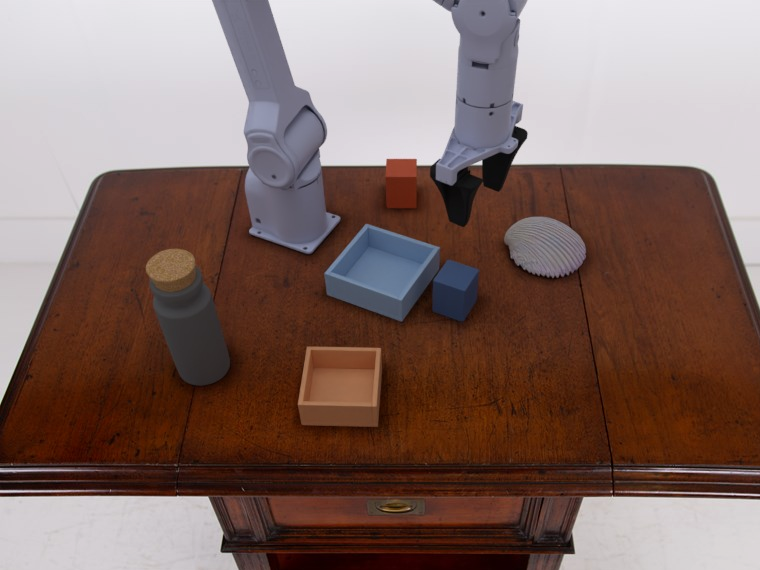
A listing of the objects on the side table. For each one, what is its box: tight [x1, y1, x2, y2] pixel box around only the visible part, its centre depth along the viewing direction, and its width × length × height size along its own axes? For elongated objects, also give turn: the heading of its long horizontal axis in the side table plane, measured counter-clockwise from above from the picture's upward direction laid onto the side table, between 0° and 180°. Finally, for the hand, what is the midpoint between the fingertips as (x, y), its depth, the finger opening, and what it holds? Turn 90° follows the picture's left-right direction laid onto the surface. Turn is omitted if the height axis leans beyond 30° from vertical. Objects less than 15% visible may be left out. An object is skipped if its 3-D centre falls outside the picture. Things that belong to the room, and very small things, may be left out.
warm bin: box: [297, 346, 383, 428], centre depth 80 cm, size 8×8×4 cm
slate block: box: [431, 258, 480, 323], centre depth 88 cm, size 4×4×5 cm
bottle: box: [145, 248, 231, 387], centre depth 79 cm, size 6×6×15 cm
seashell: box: [503, 216, 587, 279], centre depth 94 cm, size 10×6×10 cm
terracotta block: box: [385, 158, 418, 209], centre depth 101 cm, size 4×4×5 cm
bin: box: [323, 223, 441, 323], centre depth 91 cm, size 10×10×4 cm
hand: (475, 204), depth 86 cm, fingers open, 7 cm apart
